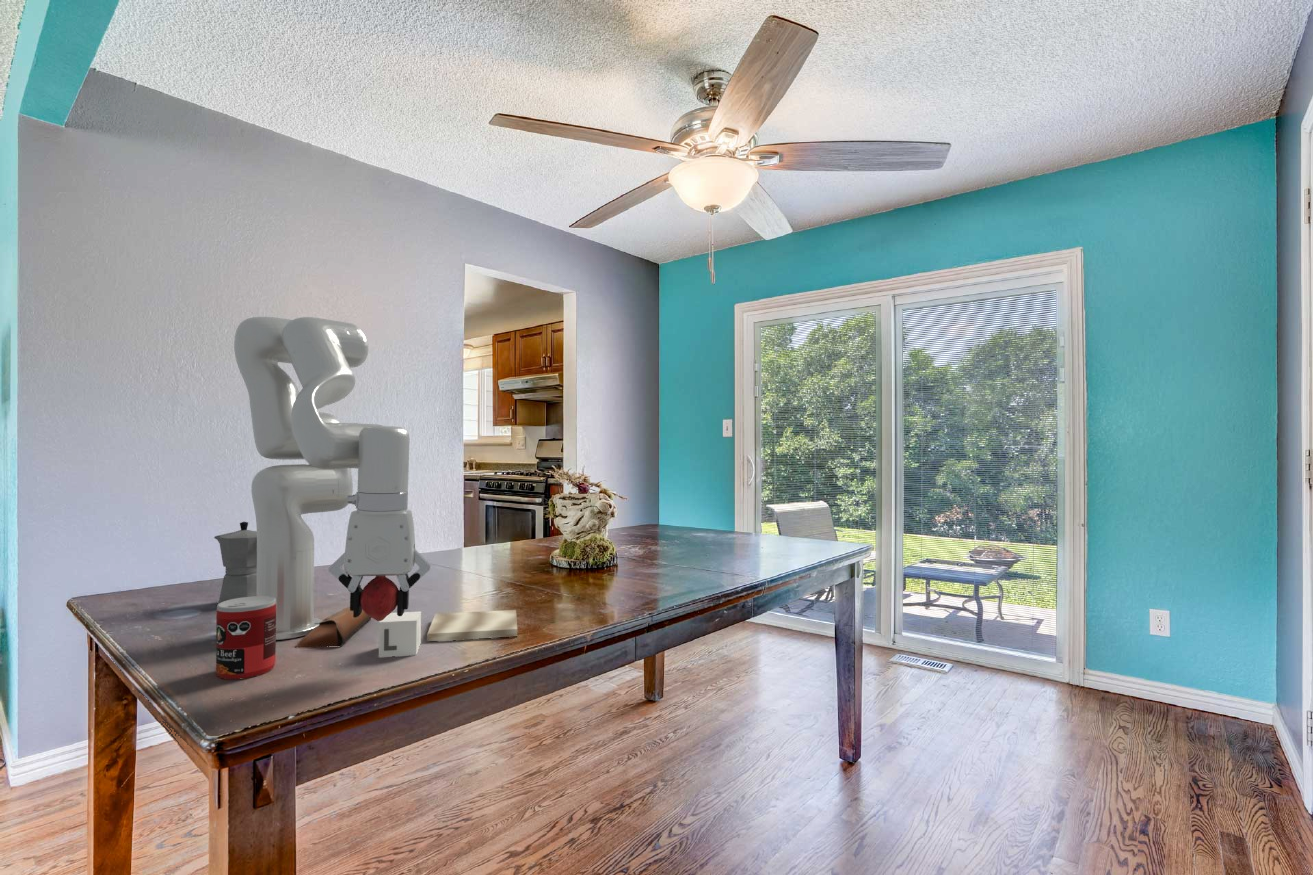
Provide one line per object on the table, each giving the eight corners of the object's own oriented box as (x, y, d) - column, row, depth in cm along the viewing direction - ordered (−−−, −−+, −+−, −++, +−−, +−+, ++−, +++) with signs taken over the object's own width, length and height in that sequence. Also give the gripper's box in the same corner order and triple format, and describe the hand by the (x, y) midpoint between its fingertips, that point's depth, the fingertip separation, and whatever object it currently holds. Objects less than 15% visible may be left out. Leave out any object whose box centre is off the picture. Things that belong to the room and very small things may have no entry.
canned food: (206, 673, 102) (207, 603, 102) (261, 659, 109) (261, 593, 109) (229, 684, 98) (230, 610, 98) (284, 669, 104) (285, 600, 104)
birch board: (427, 642, 119) (427, 633, 119) (435, 621, 132) (435, 613, 132) (517, 637, 122) (517, 629, 122) (516, 617, 136) (516, 609, 136)
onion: (384, 627, 102) (385, 576, 102) (351, 624, 103) (352, 573, 103) (405, 617, 108) (407, 569, 107) (374, 614, 109) (375, 566, 109)
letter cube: (378, 658, 110) (378, 622, 110) (384, 646, 116) (385, 613, 116) (416, 655, 112) (416, 620, 112) (420, 644, 118) (421, 611, 118)
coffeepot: (198, 607, 141) (199, 524, 141) (229, 597, 150) (230, 518, 150) (267, 609, 140) (268, 525, 140) (294, 598, 150) (295, 519, 150)
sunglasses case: (329, 619, 132) (347, 591, 133) (360, 636, 133) (378, 608, 133) (292, 648, 114) (313, 615, 115) (328, 668, 115) (349, 634, 116)
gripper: (317, 505, 99) (314, 623, 100) (436, 506, 103) (433, 619, 104) (330, 499, 107) (327, 609, 107) (441, 500, 111) (437, 606, 111)
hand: (379, 613), depth 105 cm, fingers closed on onion, 5 cm apart
